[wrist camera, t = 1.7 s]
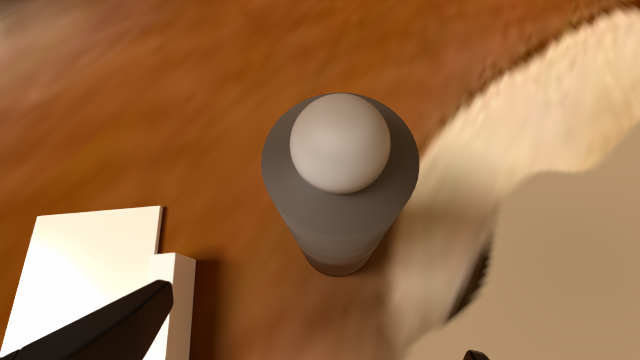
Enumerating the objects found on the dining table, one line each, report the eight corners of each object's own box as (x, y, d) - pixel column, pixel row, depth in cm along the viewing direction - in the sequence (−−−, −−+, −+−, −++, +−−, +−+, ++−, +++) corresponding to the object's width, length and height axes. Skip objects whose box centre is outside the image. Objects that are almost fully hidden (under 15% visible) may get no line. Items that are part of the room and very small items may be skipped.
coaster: (146, 344, 20) (143, 345, 19) (5, 356, 20) (-1, 356, 20) (162, 207, 23) (159, 205, 23) (42, 217, 23) (37, 216, 23)
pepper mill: (377, 273, 21) (465, 203, 7) (304, 279, 21) (239, 222, 7) (367, 204, 23) (420, 33, 8) (300, 210, 23) (243, 49, 9)
